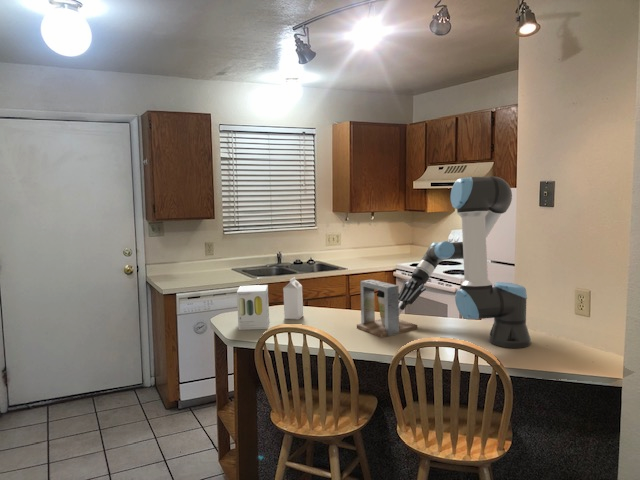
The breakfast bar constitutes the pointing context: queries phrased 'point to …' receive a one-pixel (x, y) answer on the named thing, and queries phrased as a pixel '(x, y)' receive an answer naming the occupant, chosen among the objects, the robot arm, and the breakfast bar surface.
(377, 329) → the walnut board
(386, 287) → the grey keeper bridge
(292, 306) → the milk carton
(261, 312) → the supplement box
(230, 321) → the breakfast bar surface
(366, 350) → the breakfast bar surface
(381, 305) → the coffee cup
